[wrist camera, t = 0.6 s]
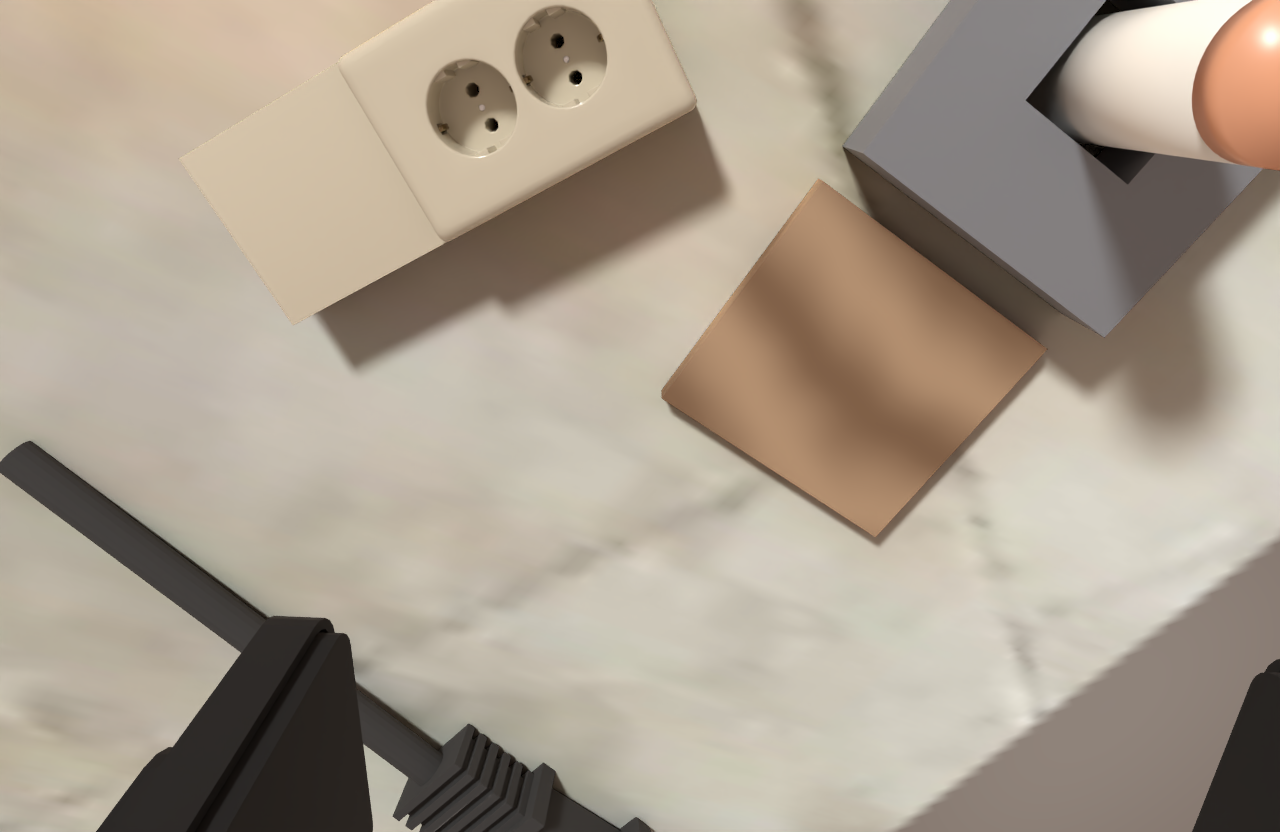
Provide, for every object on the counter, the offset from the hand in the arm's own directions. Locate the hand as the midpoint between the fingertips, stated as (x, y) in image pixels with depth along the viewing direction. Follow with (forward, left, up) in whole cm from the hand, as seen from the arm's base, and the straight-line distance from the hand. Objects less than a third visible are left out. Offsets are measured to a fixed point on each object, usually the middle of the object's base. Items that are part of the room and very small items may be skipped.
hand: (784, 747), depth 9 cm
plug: (-14, +9, -28) cm, 32 cm away
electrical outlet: (+1, -11, -28) cm, 30 cm away
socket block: (-14, +9, -28) cm, 32 cm away
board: (0, +9, -28) cm, 29 cm away
